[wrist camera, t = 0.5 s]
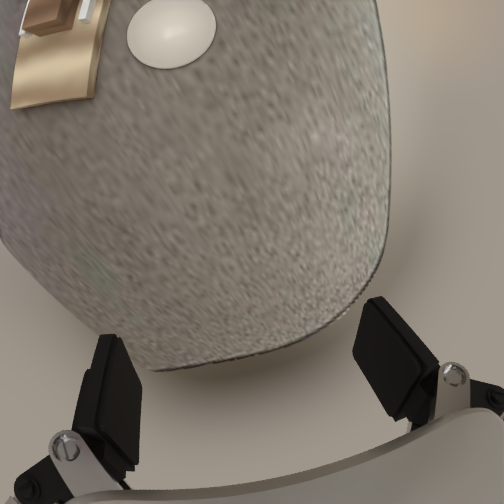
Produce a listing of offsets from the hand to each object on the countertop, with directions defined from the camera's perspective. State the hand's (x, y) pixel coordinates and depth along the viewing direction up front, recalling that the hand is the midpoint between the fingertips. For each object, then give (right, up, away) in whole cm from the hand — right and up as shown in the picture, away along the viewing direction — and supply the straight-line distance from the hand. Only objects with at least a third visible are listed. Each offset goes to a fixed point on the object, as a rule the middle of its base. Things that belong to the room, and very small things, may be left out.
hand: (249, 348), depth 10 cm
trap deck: (-24, +35, +11) cm, 44 cm away
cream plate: (-10, +31, +16) cm, 36 cm away
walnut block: (-23, +32, +9) cm, 41 cm away
